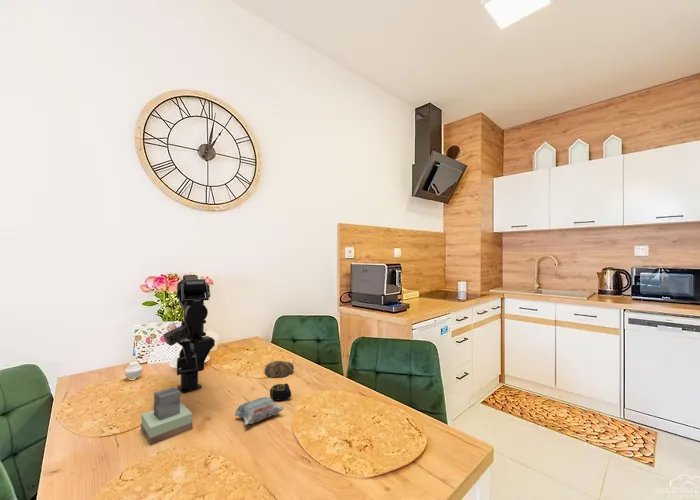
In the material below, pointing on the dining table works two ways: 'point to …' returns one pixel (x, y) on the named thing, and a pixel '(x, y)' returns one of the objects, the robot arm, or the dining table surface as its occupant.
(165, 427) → the top block
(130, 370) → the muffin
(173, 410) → the grey block
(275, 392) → the tape measure
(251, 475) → the dining table surface
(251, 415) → the packaged food
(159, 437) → the bottom block
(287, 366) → the bread roll
